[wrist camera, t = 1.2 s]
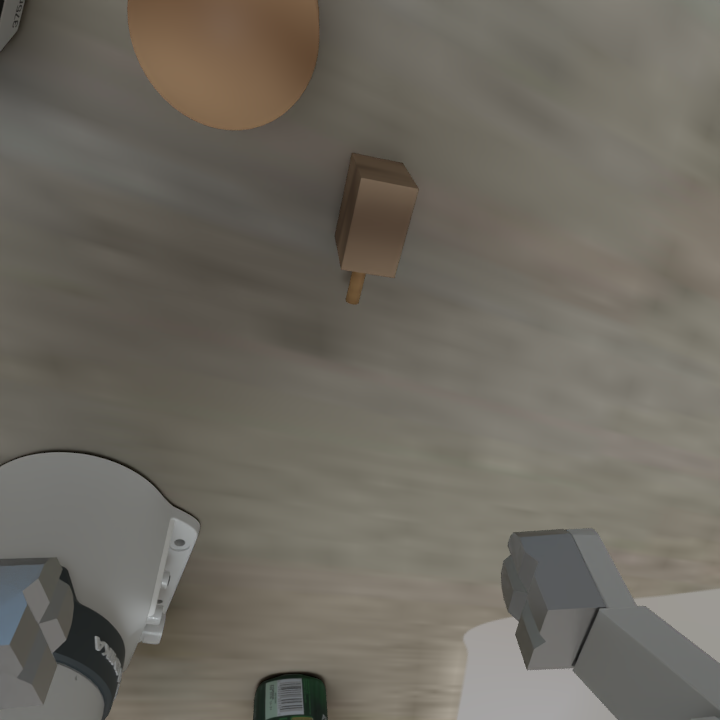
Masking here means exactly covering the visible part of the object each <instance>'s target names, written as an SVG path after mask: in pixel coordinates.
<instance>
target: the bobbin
mask: <svg viewBox="0 0 720 720" xmlns="http://www.w3.org/2000/svg"><path fill="white" fill-rule="evenodd" d="M127 10H128V25H129V31H130V37H131V40H132V44H133V47H134V51H135V53H136V56H137V58H138V61H139V63H140V65H141V67H142V69H143V71H144V72H145V74H146V76H147V78H148V79H149V81H150V82H151V83H152V85H153V86H154V88H155V89H156V90H157V91H158V92H159V94H160V95H161V96H162V97H163V98H164V99H165V100H166V101H167V102H168V103H169V104H170V105H172V106H173V107H174V108H175V109H177V110H178V111H179V112H181V113H182V114H183V115H185V116H187V117H189V118H191V119H192V120H194V121H196V122H199V123H201V124H204V125H206V126H210V127H213V128H217V129H224V130H245V129H252V128H256V127H259V126H263V125H265V124H267V123H269V122H272V121H273V120H275V119H277V118H278V117H280V116H281V115H283V114H284V113H285V112H286V111H288V110H289V109H290V108H291V107H292V106H293V105H294V104H295V103H296V101H297V100H298V99H299V98H300V96H301V95H302V93H303V92H304V90H305V89H306V87H307V85H308V83H309V81H310V79H311V77H312V74H313V71H314V68H315V65H316V60H317V56H318V49H319V8H318V0H128V7H127Z"/></svg>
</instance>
